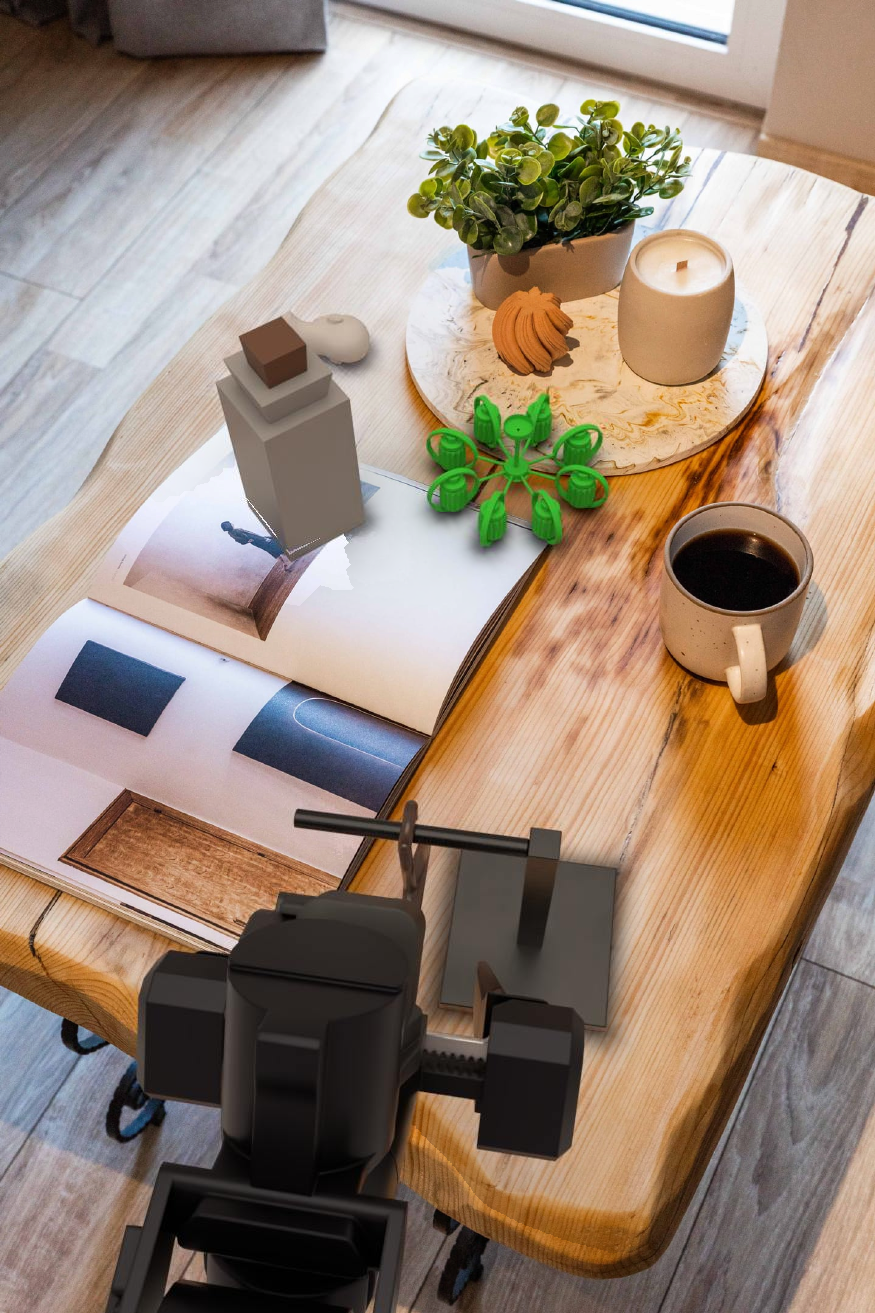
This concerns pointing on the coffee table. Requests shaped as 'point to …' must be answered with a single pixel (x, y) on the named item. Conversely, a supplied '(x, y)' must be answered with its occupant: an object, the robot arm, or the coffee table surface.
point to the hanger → (412, 857)
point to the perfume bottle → (292, 439)
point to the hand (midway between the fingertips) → (390, 956)
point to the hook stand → (514, 914)
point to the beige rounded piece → (333, 336)
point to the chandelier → (516, 468)
